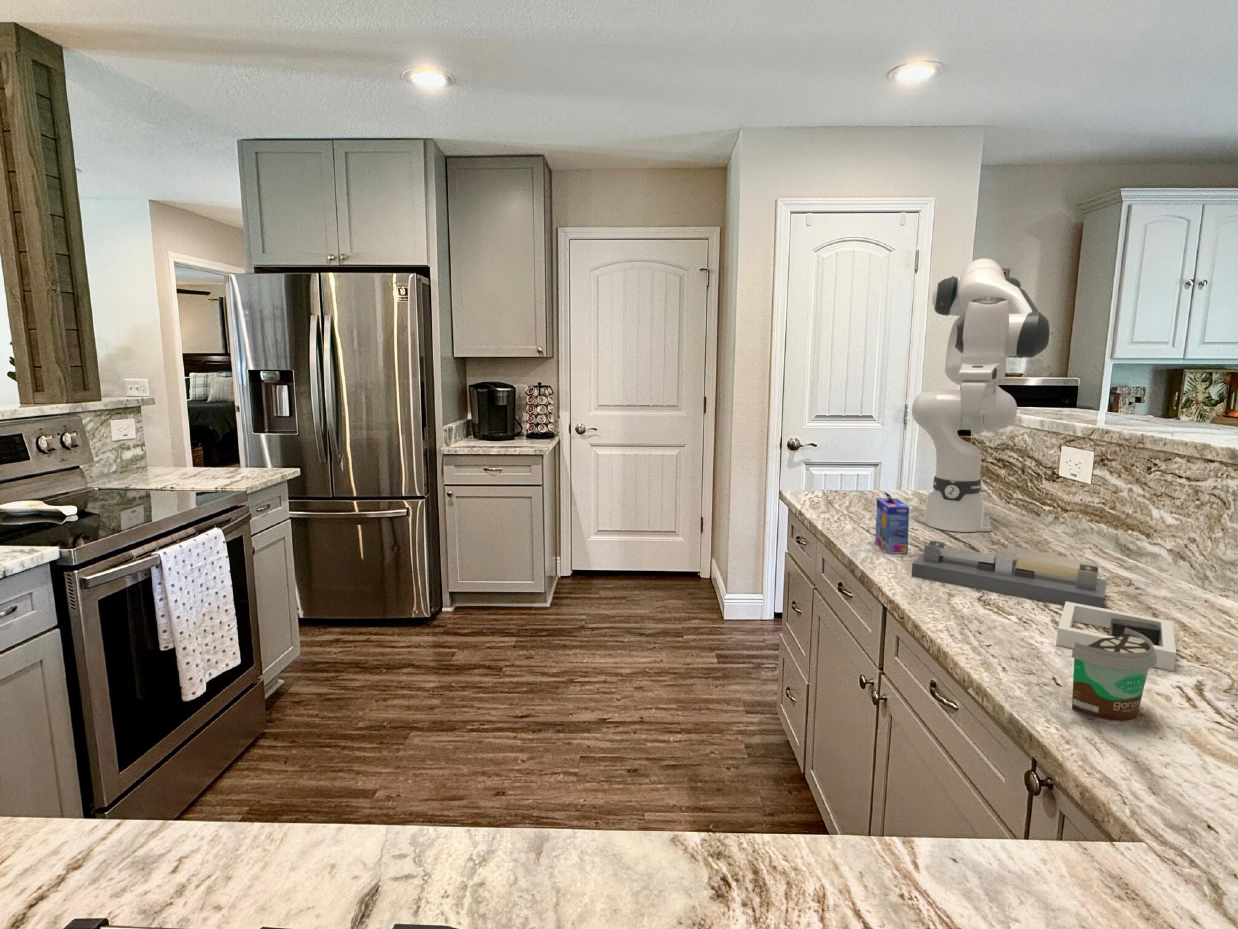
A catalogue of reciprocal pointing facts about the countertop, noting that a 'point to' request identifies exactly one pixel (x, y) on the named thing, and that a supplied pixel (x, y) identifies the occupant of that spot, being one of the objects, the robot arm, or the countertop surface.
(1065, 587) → the lug board
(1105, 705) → the food container
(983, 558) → the steel strap
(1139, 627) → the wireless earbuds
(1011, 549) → the washcloth
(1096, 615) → the white square frame
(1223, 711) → the countertop surface
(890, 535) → the ink cartridge box
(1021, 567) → the brass strap
